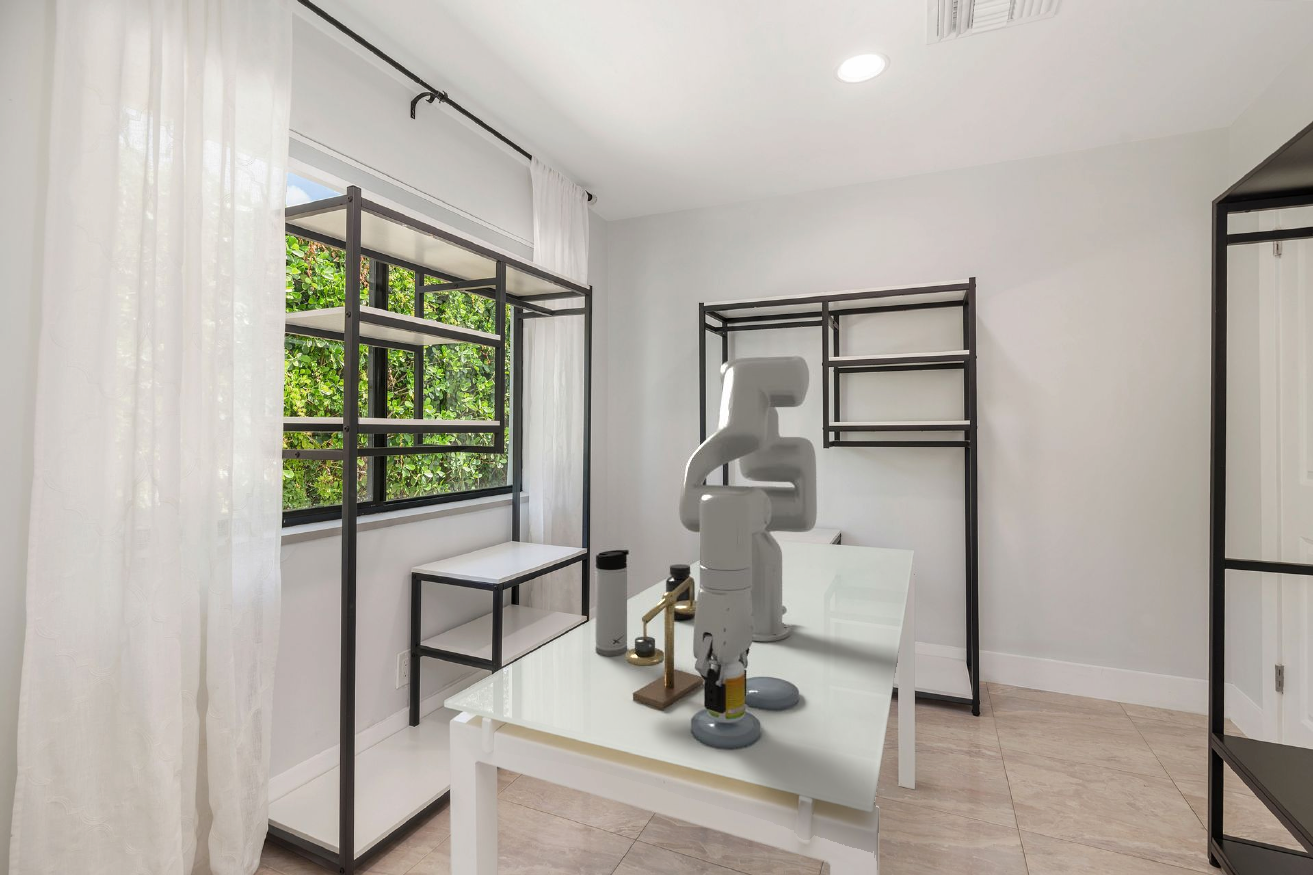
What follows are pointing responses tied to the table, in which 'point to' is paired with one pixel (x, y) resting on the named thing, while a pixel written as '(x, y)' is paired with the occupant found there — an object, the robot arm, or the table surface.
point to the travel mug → (611, 602)
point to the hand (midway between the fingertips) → (725, 700)
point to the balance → (646, 654)
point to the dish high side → (770, 693)
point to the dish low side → (725, 731)
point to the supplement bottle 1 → (676, 579)
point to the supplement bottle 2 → (732, 692)
